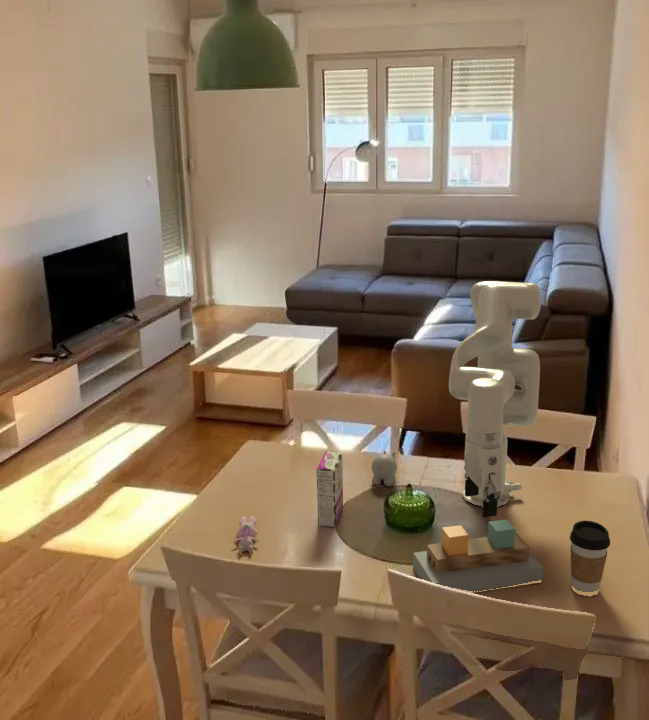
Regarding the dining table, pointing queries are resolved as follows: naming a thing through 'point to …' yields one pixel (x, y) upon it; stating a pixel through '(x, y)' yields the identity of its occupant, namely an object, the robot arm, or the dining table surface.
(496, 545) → the teal cube
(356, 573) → the dining table surface
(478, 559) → the brown wooden block
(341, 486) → the candy bar box
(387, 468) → the round bodied animal figurine
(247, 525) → the rabbit figure
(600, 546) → the coffee cup
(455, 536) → the orange cube
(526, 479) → the dining table surface
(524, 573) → the dock
